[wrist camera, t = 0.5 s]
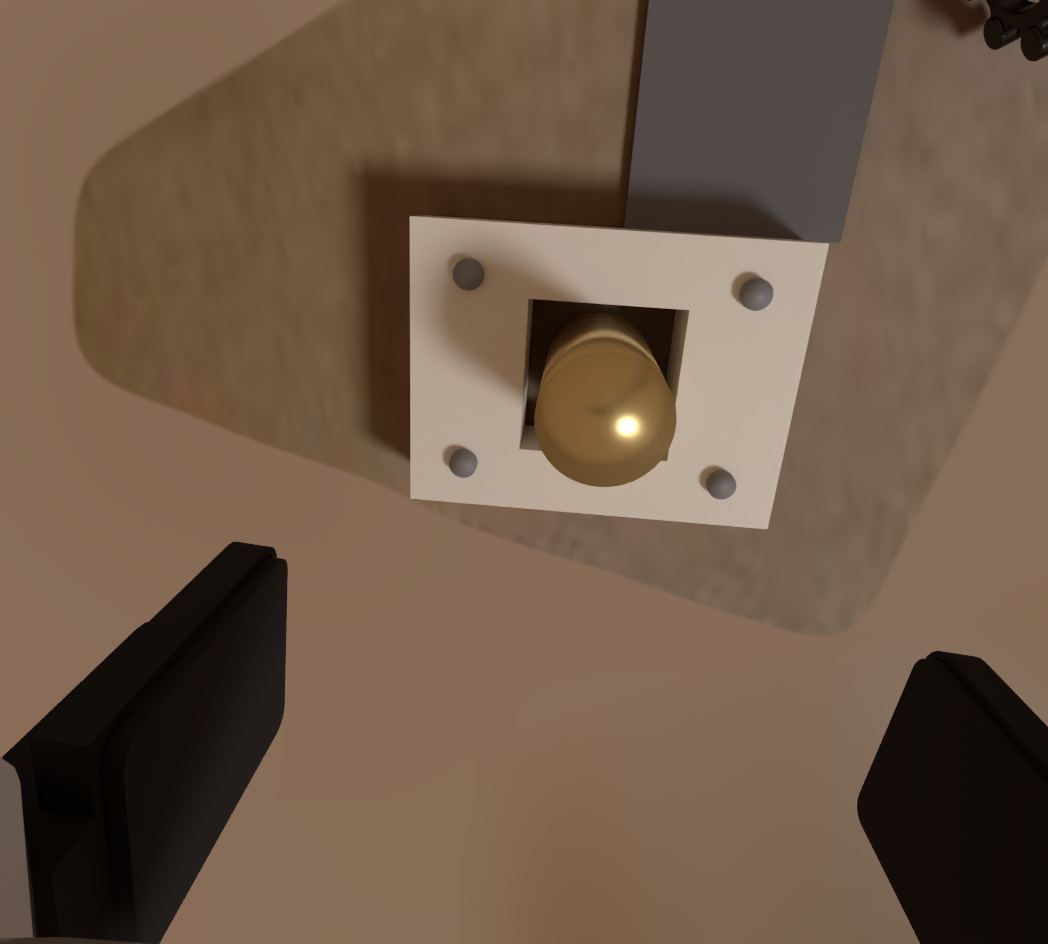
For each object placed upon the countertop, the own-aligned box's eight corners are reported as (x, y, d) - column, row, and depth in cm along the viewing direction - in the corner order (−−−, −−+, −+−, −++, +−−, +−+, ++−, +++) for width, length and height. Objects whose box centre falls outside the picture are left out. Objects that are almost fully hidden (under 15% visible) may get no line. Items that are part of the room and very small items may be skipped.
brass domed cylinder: (656, 315, 30) (686, 357, 22) (643, 418, 32) (666, 492, 23) (550, 308, 30) (539, 346, 22) (542, 410, 32) (529, 481, 24)
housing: (800, 239, 28) (833, 244, 25) (748, 497, 33) (769, 533, 29) (428, 215, 29) (407, 216, 26) (426, 470, 34) (408, 502, 30)
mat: (892, -12, 25) (896, -15, 25) (836, 241, 28) (839, 242, 28) (650, -23, 25) (652, -27, 25) (623, 228, 29) (624, 228, 28)
